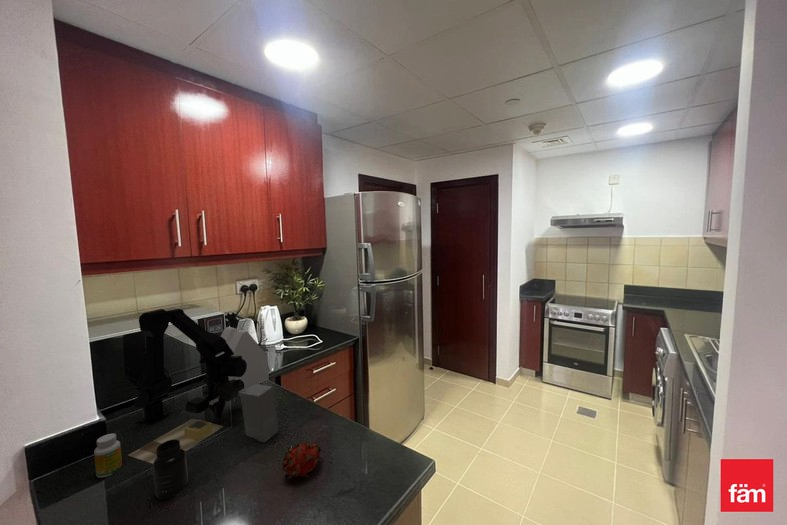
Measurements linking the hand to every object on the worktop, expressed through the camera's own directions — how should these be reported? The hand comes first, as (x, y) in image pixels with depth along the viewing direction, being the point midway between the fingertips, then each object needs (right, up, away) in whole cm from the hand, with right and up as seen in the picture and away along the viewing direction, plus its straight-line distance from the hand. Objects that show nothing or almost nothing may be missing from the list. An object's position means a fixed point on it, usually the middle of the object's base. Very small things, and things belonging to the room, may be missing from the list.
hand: (218, 418), depth 108 cm
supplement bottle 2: (+4, -4, -29) cm, 29 cm away
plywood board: (-7, -3, -9) cm, 12 cm away
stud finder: (-3, -2, -7) cm, 8 cm away
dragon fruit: (+36, -3, -24) cm, 43 cm away
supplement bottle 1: (-19, -4, -21) cm, 28 cm away
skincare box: (+18, -2, -7) cm, 19 cm away
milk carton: (-8, -1, +32) cm, 33 cm away
